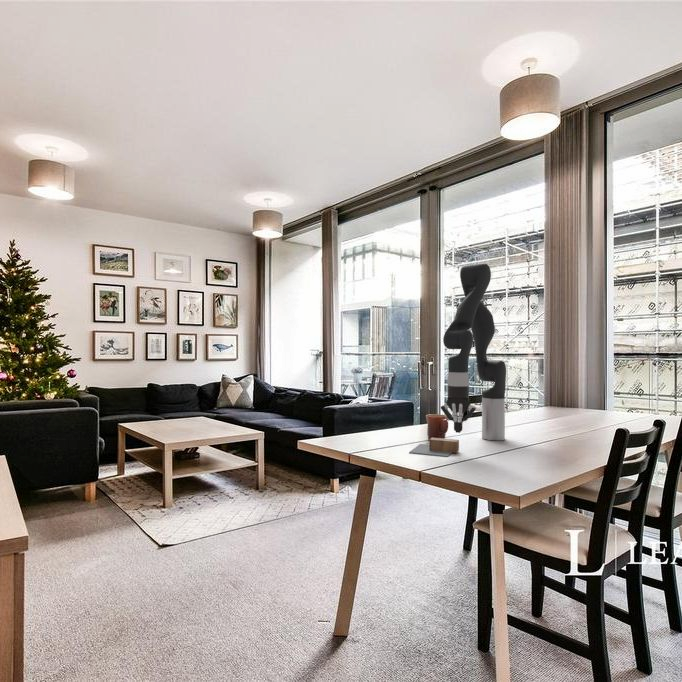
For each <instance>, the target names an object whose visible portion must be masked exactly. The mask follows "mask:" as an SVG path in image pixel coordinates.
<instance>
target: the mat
mask: <svg viewBox="0 0 682 682" xmlns="http://www.w3.org/2000/svg"><path fill="white" fill-rule="evenodd" d="M408 454H413V455H414V454H416V455H424V456H435V457H444V458H445V457H446V458H449V457H450V456H451V454H453V453H452V452H442V451H431V450H429V444H424V443H419V444H418V445H417V446H415V447H414V448H412V449H411V450H410V451H409V453H408Z"/></svg>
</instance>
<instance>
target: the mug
mask: <svg viewBox="0 0 682 682" xmlns="http://www.w3.org/2000/svg"><path fill="white" fill-rule="evenodd" d="M425 418H426V422H427V430H426V431H427V432H426V433H427V434H426V435H427V439H428V440H429V439H431V438H443V439H446V436H447V432H448V431H449V421H448V420H447V419H448V417H447V416H446V415H445V414H439V413H436V414H435V413H431V414H430V413H429V414H426V415H425Z"/></svg>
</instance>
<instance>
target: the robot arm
mask: <svg viewBox="0 0 682 682" xmlns="http://www.w3.org/2000/svg"><path fill="white" fill-rule="evenodd" d="M459 271H460V272H459V278H460V282H461V287H462V288H461V289H462V290H463V294H464V298H463V300H461V302H460V304H459V305H458V307H457V309H456V310H455V311H456V312H455V315H454V319H453V320H452V322H451V323H450V325H449V326H448V327H447V329H446V330H445V332H444V334H443V341H442V342H443V346H444V347H445V348H446V349H449V350H460V351H459V353H458V354H456V355H452V356H449V357H448V363H447V364H448V366H447V368H448V370H447V372H448V373H447V374H448V375H447V381H446V382H447V383H446V384H447V399H446V403H445V404H444V405H441V406H440V409H441V411H442V412H443V414H444V415H446V416H447V419H448V420H449V421H452V422H453V430H454V431H455V433H459V434H460V433H461V432H462V431H463V422H467V421H468V420H469V418H470V417H471V416H472V415H473V414H474V412H475V411H476V410H477V407H475V406H473V404H471V401H470V399H469V398H470V389H469V388H470V387H469V386H470V385H469V384H470V380H469V357H470V355H471V350H472V347H473V344H474V350H475V358H476V367H477V374H478V378H479V379H480V380H481V381H482V382H487V383H488V382H493V383H494V385H493V386H492V387H489V388H488V389H484V390H482V391H481V438H482V439H484V440H488V441H503V440H506V421H505V420H506V405H505V403H506V401H505V400H506V398H505V397H506V396H505V395H506V381H507V365H506V363H505V361H504V360H500V359H488V357H487V351H488V348H489V345H490V344H491V342H492V340H493V338H494V336H495V332H496V327H495V326H496V325H495V321H494V317H493V314H492V312H491V311H490V310H489V308H488V307H487V306H486V305H485V304H484V303H483V302H482V299H483V297H484V295H485V294H486V291H487V289H488V287H489V285H490V282H491V279H492V270H491V268H490V266H489V265H488V263H484V262H483V263H472V264H465V265H463V266H461V268H460V270H459ZM470 330H471V331H470ZM467 410H468V411H469V412H467V413H466V415H465V416H464V413H465V412H466V411H467ZM450 411H451V412H452V414H451V412H450Z"/></svg>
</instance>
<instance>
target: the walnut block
mask: <svg viewBox="0 0 682 682" xmlns="http://www.w3.org/2000/svg"><path fill="white" fill-rule="evenodd" d="M428 442H429V444H428V445H429V450H431V451H442V452H452V453H451V454H455V453H456V454H457V453H458V452H459V451H460V440H459V439H453V438H445V439H443V438H431V439H428Z"/></svg>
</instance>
